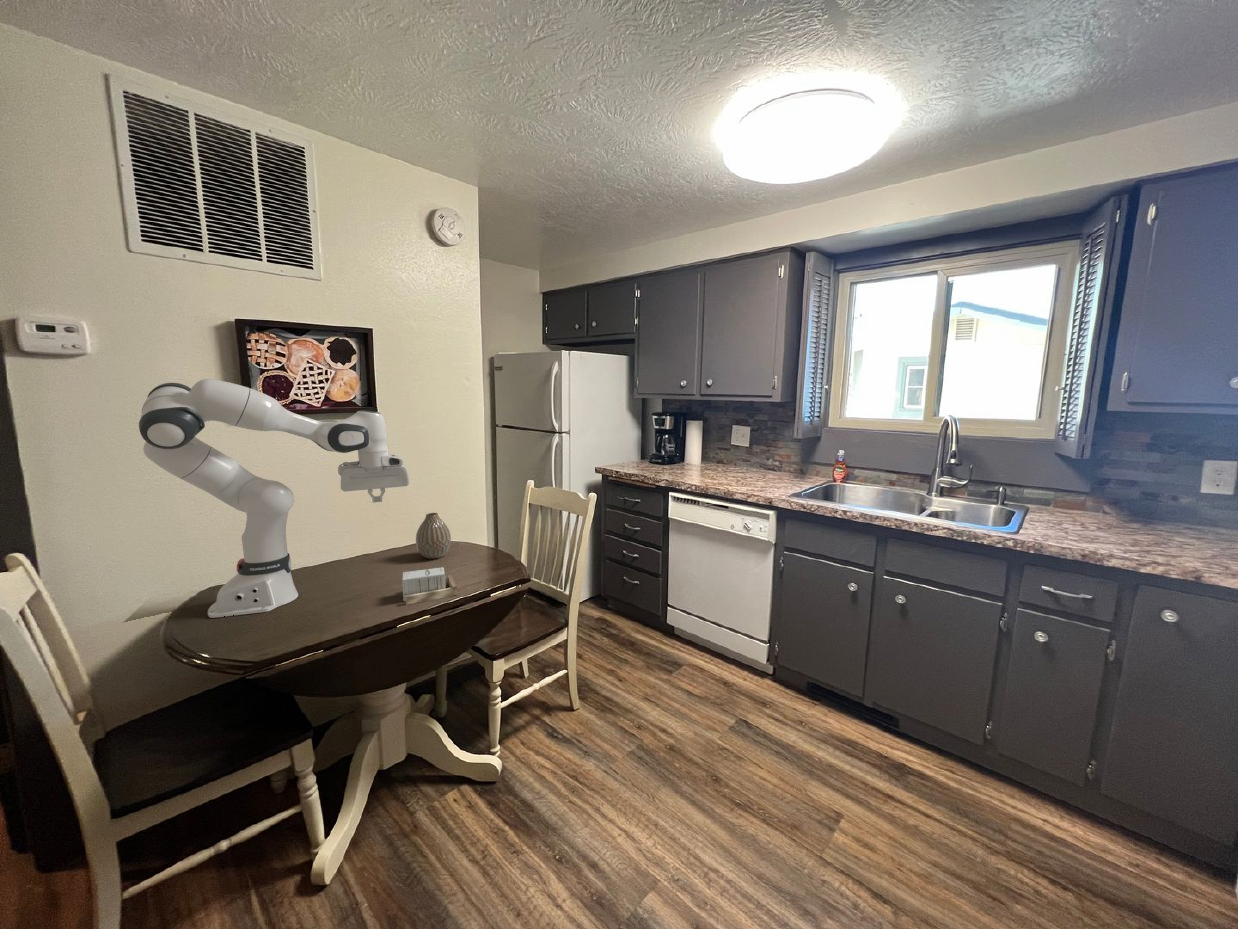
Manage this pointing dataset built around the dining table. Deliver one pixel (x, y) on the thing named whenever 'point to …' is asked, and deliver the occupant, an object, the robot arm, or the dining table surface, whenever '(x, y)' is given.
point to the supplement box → (423, 581)
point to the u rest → (434, 593)
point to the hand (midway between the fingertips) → (377, 502)
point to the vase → (433, 537)
